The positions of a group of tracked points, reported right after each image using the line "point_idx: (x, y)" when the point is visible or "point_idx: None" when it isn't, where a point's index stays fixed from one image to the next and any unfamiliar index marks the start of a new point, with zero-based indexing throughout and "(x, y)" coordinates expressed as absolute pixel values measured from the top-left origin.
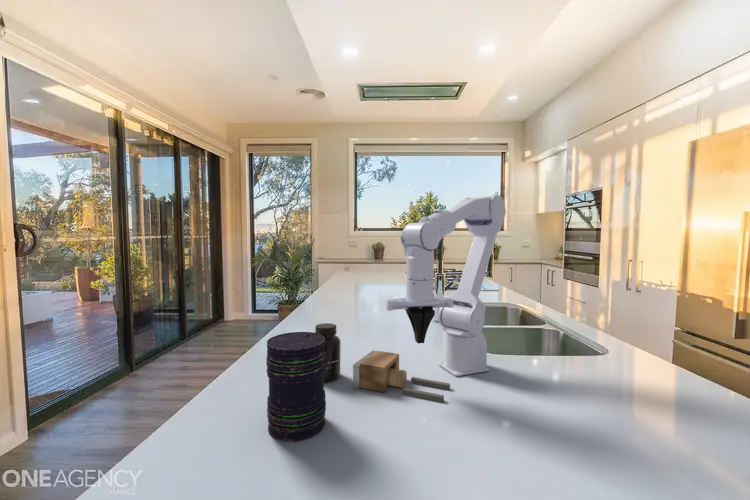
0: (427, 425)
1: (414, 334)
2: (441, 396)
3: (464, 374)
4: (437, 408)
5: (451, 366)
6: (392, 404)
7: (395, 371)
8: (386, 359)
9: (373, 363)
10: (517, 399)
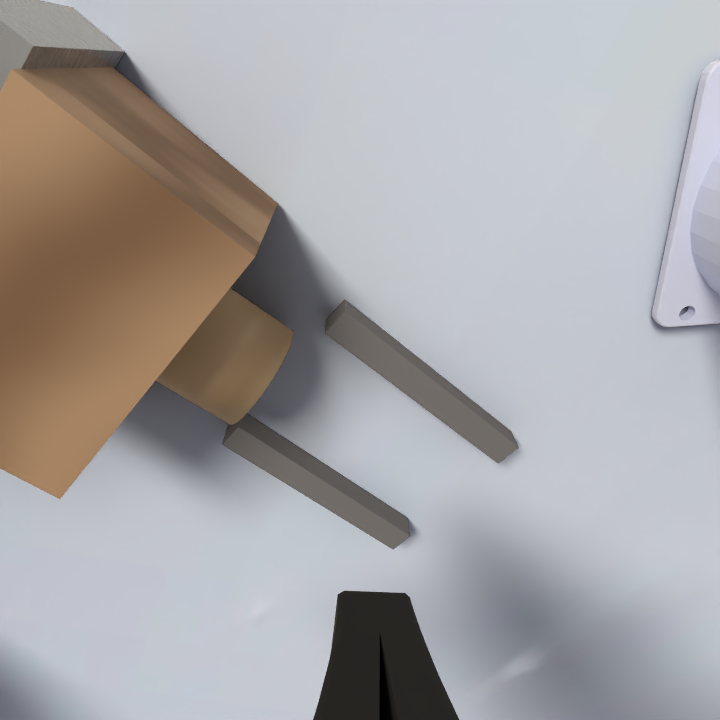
0: (255, 631)
1: (330, 655)
2: (393, 541)
3: (717, 321)
4: (344, 559)
5: (706, 255)
6: (153, 496)
7: (189, 387)
8: (98, 358)
9: None
10: (710, 571)
